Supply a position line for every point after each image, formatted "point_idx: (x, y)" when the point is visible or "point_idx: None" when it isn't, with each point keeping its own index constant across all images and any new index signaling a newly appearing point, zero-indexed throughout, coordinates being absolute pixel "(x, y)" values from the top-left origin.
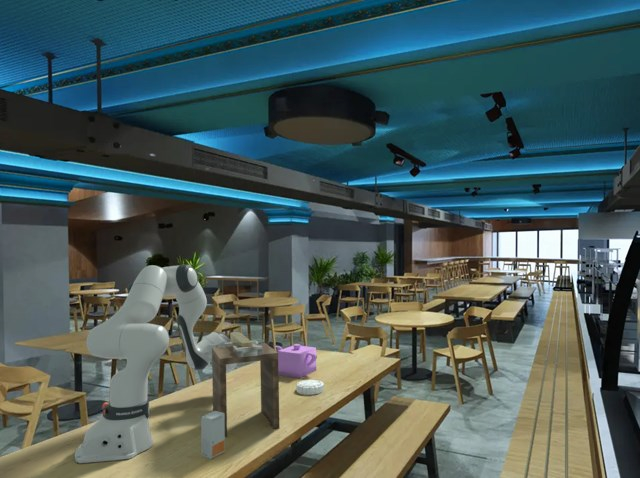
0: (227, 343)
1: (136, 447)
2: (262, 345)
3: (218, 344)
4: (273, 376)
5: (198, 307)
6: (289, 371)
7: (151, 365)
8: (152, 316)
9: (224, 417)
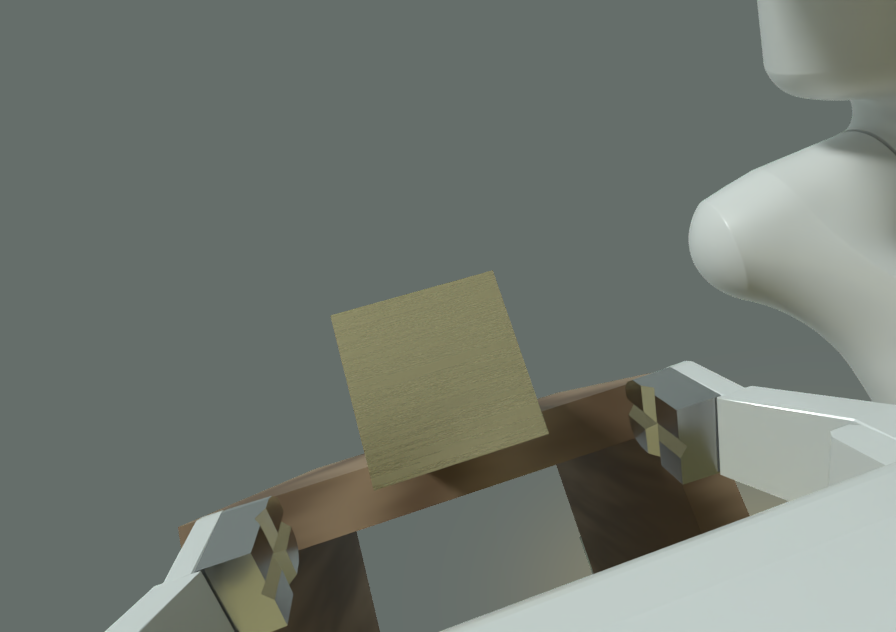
0: (711, 533)
1: None
2: (277, 490)
3: (827, 411)
4: (363, 571)
5: None
6: None
7: (800, 319)
8: (811, 96)
9: (584, 550)
